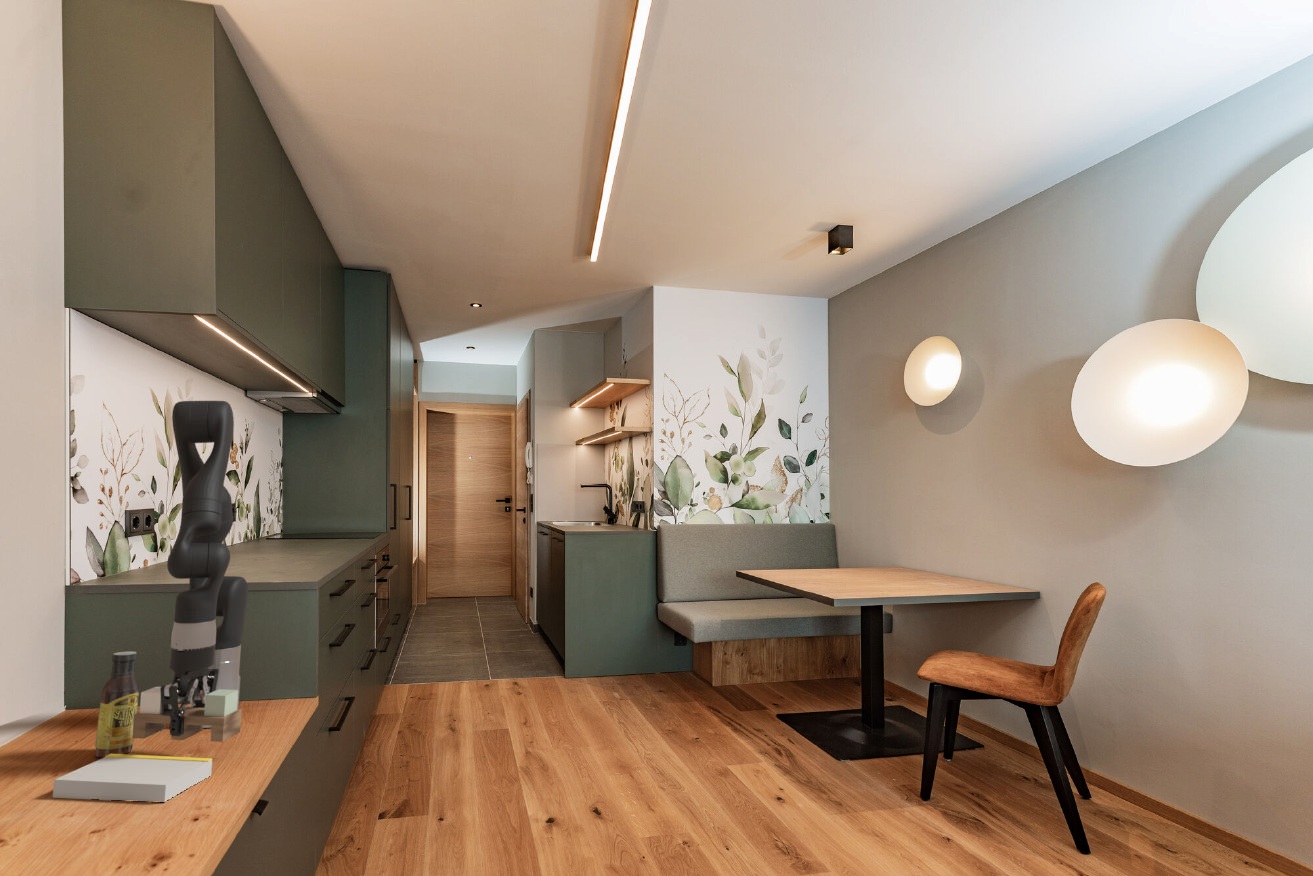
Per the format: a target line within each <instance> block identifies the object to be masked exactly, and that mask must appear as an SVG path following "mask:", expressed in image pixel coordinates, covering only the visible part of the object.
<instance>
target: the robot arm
mask: <svg viewBox="0 0 1313 876" xmlns="http://www.w3.org/2000/svg"><path fill="white" fill-rule="evenodd" d="M171 419H172V421H171V422H172V429H173V435H174V440H175V441H174V442H175V445H176V446H175V447H176V450H177V451H176V452H177V458H178V462H179V463H178V464H179V468H180V475H181V486H182V487H181V488H182V500H181V502H182V503H181V505H182V506H181V518H180V525H179V530H178V533H177V537H176V538H175V542H174V543H173V546H172V549H171V551H170V552H169V555H168V559H167V562H166V563H167V564H166V568H167V571H168V573H169V574H170V576H171V577H172V578H174V579H179V580H185V579H186V580H187V579H188V580H189V582H188V583H189V589H188V590H187V589H186V590H184V591H181V592H180V593H178V594H177V596H176V598H175V606H174V608H175V609H174V620H173V626H172V630H171V631H172V632H171V641H170V653H169V655H170V656H169V666H168V667H169V669H170V670H171V671H173V672H174V675H173V678H172V681H171V683H169V684H162V686H160V687H161V689H160V691H161V708H162V715H163V716H170V717H171V720H170V724H169V734H170V736H180V735H182V734H183V730H184V716H185V715H184V713H185V710H186V707H188V705H189V704H190V705H189V707H199V708H205V697H206V695H207V694H209V693H211V692H214V691H216V690H218V689H224V690H238V701H237V709H239V704H240V703H239V701H240V688H241V675H240V665H241V664H240V663H241V652H242V651H241V650H242V649H241V648H242V638H243V634H244V629H245V628H244V627H245V618H246V610H247V603H248V594H249V590H248V589H249V588H248V583H247V580H246V579H245V578H244V577H242V576H236V575H233V576H232V575H231V576H230V575H227V576H226V573H227V569H228V568H229V565H230V561H231V551H230V549H229V548H228V546H227V545H225V543H223V542H224V541H225V540H226V539H227V536H228V535H229V533H230V531H231V530H232V527H233V522H234V514H233V504H232V503H233V501H232V495H231V494H230V491H229V490H228V489H227V488H226V486H225V484H224V483H225V478H226V473H227V469H228V464H229V458H230V455H231V454H230V453H231V447H232V443H233V438H234V437H233V436H234V428H235V421H234V419H235V418H234V412H233V408H232V406H231V404H230V403H229V402H228V401H224V400H182V401H178V402H175V404H174V406H173V409H172V416H171ZM207 443H208V444H211V443H213V446H212V450H211V452H210V453H209V456H208V457H207V459H206V461H205V462H204V461H203V459H202V457H201V456H200V453H199V451H198V448H197V445H196V444H207ZM217 617H223V618H222V622H221V624H220V625H219V626H217V625H216V620H217ZM168 704H169V705H171V706H170V709H168ZM179 704H180V706H179ZM178 707H180V709H178ZM205 728H207V729H208V728H210V729H211V725H203V729H205Z"/></svg>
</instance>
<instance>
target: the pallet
mask: <svg viewBox="0 0 1313 876" xmlns="http://www.w3.org/2000/svg"><path fill="white" fill-rule="evenodd" d="M178 709H180V706H178ZM242 710H243V709H242V708H238V709H237V711H235V712H233V713H231V714H229V715H227V716H225V717H219V716H204V712H205V708H199V707H190V706H187V707H186V710H185V713H184V715H185V716H184V730H183V734H182V735H180V736H171V735H170V736H171V739H170V740H172V741H184V740H186V739H189V738H191V737H192V736H194V735H196V734H198V733H200V732H202V731H203V730H204V728H203V725H211V727H210V742H215V743H216V742H219V743H223V742H225V741H227V740H229V739H230V738H232V737H234V736H236V735H237V734H238V735H239V733H241V726H242V725H241V724H242ZM170 720H171V717H170V716H163V715H162V713H161V714H147V713H140V711H138V712H137V713H136V714H134V722H133V735H132V738H134V739H147V738H149V737H151V736H152V735H154V734H157V733H158V732H161V731H163V730H165V729H166V724H167V725H170Z"/></svg>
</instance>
